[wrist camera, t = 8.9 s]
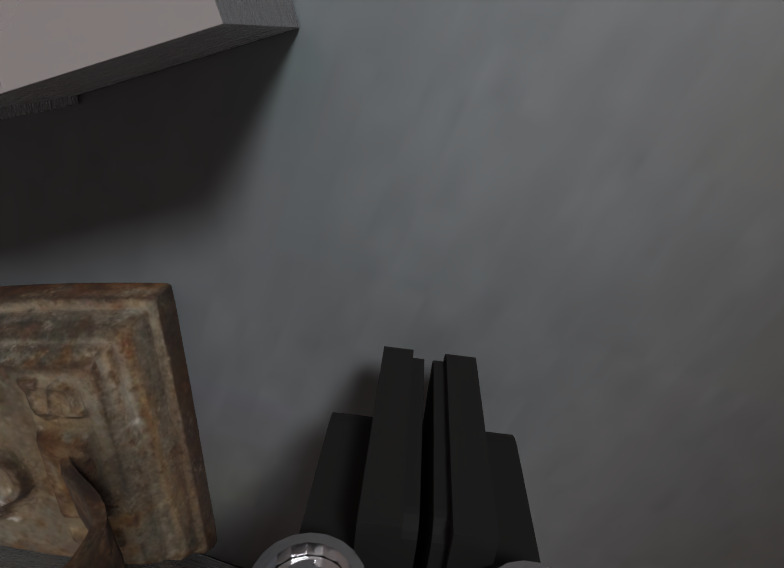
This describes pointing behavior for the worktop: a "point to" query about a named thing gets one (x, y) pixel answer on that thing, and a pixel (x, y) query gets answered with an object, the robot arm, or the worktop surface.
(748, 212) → the worktop surface
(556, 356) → the worktop surface
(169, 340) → the clothes iron
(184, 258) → the worktop surface
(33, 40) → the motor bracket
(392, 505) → the robot arm
